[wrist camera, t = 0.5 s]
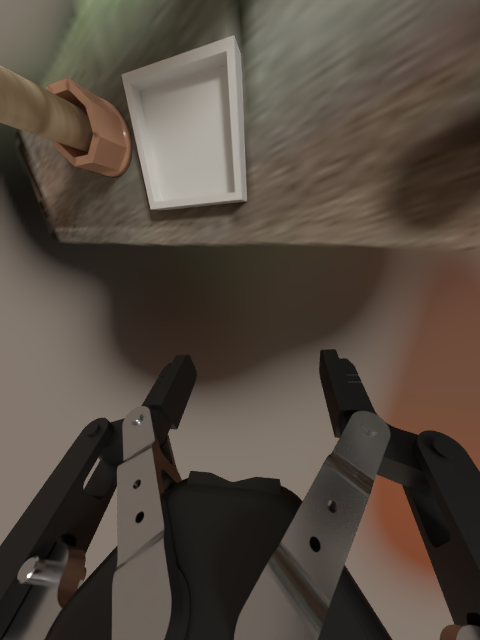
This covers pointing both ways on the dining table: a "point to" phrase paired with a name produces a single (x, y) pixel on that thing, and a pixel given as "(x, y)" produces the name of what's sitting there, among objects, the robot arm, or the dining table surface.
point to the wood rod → (42, 112)
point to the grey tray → (190, 127)
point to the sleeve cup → (97, 132)
